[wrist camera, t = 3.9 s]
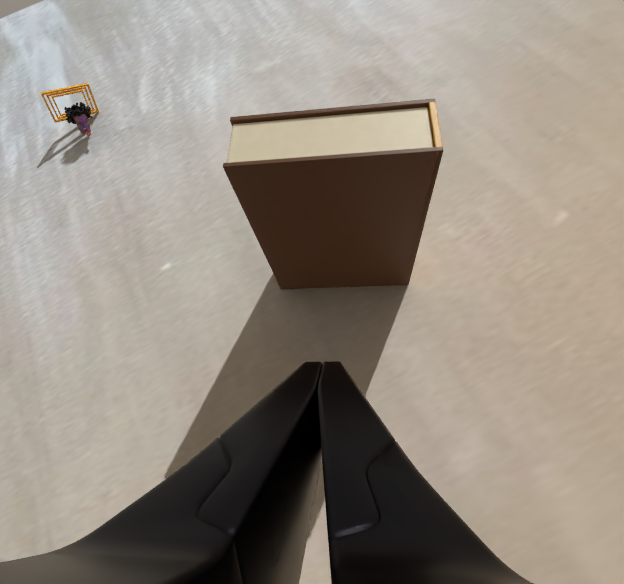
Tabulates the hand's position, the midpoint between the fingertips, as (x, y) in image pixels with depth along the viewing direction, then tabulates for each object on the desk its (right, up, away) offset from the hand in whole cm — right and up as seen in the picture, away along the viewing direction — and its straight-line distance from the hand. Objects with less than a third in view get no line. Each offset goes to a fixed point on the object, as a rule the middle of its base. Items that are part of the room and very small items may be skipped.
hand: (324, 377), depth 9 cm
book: (+2, +4, +15) cm, 16 cm away
